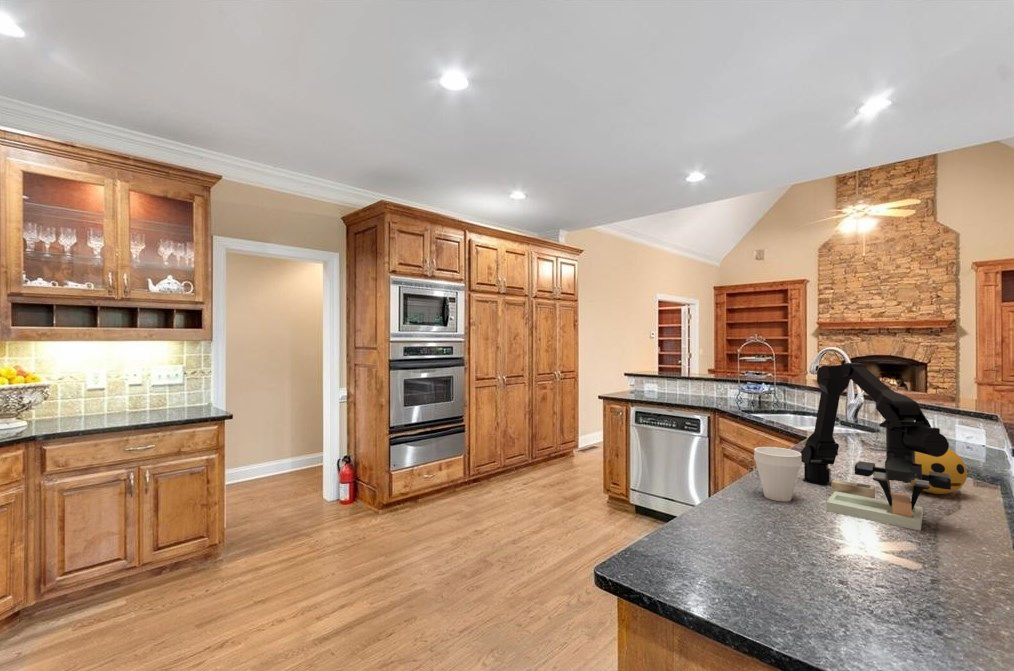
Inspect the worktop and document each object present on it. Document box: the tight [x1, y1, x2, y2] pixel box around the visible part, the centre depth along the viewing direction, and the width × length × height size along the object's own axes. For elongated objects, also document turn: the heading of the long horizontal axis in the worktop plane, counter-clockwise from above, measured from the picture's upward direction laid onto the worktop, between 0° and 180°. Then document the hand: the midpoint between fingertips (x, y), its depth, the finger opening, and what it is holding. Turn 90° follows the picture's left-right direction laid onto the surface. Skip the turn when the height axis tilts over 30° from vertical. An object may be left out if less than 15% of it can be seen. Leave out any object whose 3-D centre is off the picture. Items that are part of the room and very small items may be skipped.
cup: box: [753, 446, 803, 502], centre depth 135 cm, size 12×12×14 cm
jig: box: [826, 491, 924, 532], centre depth 122 cm, size 19×13×2 cm
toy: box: [910, 448, 968, 495], centre depth 140 cm, size 15×15×15 cm
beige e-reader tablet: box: [830, 479, 876, 499], centre depth 136 cm, size 10×4×4 cm, turn 46°
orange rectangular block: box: [891, 491, 912, 518], centre depth 118 cm, size 4×9×4 cm, turn 141°
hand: (901, 507), depth 118 cm, fingers closed on orange rectangular block, 4 cm apart
